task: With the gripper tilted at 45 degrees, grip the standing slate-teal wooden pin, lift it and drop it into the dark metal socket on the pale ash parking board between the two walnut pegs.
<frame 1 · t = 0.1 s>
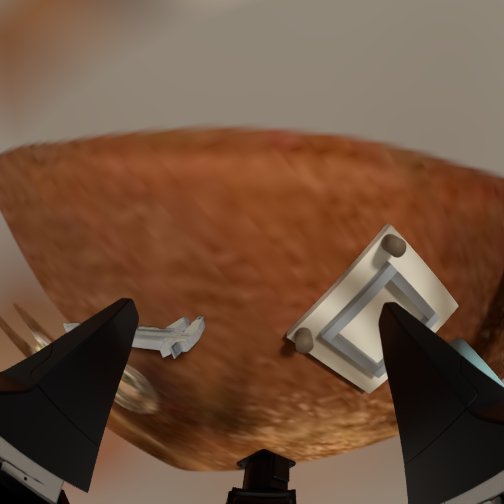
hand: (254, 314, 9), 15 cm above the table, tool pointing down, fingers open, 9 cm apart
parking board: (379, 318, 25), on the table
caliper: (124, 323, 29), on the table
pin: (452, 353, 26), on the table
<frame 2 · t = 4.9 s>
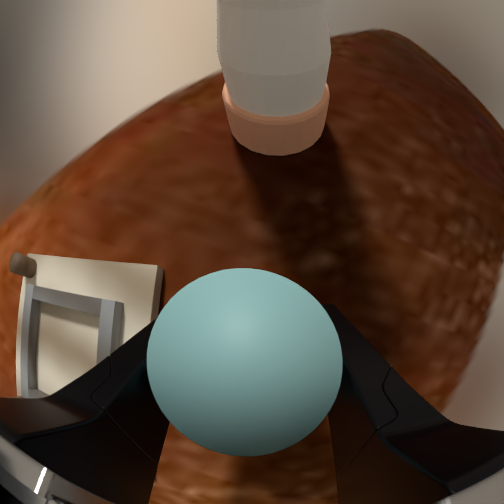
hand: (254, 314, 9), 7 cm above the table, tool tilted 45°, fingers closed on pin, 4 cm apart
salt shaker: (276, 120, 20), on the table
parking board: (75, 357, 16), on the table
pin: (263, 345, 15), on the table, touching gripper
when the fingers open (9 cm above the table, at t = 8.9 s): pin drops 2 cm, resting on parking board.
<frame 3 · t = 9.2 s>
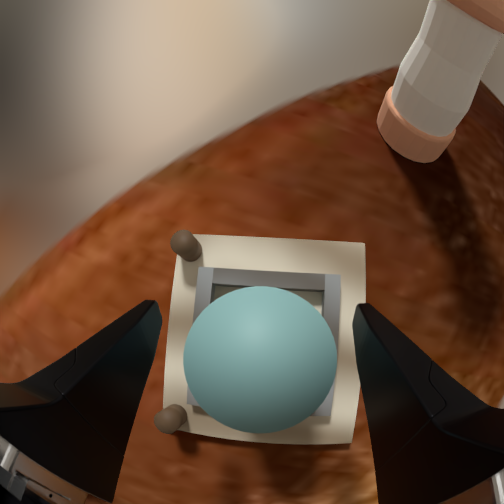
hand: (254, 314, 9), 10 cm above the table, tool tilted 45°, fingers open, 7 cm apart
salt shaker: (409, 133, 22), on the table
parking board: (265, 342, 18), on the table
pin: (263, 344, 17), point 1 cm above the table, touching parking board
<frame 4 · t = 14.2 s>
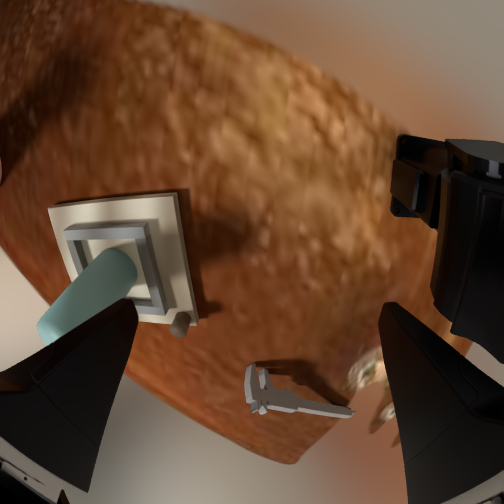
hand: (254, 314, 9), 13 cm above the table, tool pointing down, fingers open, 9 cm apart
parking board: (121, 262, 25), on the table
caliper: (309, 391, 33), on the table
pin: (117, 268, 24), point 1 cm above the table, touching parking board
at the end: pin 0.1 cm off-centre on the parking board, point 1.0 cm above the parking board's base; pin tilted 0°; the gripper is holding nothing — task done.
